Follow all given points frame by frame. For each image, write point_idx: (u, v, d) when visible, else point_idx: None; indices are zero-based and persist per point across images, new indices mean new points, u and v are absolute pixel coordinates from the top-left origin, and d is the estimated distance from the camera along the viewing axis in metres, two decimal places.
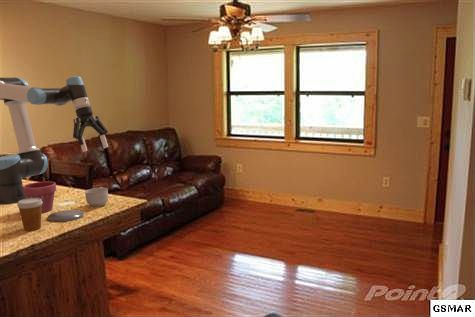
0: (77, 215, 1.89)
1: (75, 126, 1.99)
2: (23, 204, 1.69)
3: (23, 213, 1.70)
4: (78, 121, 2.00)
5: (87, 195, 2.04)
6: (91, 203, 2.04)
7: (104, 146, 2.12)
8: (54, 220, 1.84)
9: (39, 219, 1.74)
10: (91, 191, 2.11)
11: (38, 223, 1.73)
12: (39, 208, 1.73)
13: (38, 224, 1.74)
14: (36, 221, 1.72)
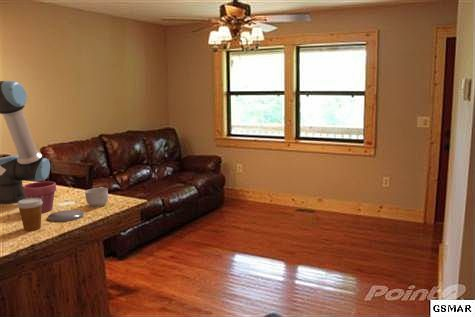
0: (77, 215, 1.89)
1: None
2: (23, 204, 1.69)
3: (23, 213, 1.70)
4: None
5: (87, 195, 2.04)
6: (91, 203, 2.04)
7: None
8: (54, 220, 1.84)
9: (39, 219, 1.74)
10: (91, 191, 2.11)
11: (38, 223, 1.73)
12: (39, 208, 1.73)
13: (38, 224, 1.74)
14: (36, 221, 1.72)
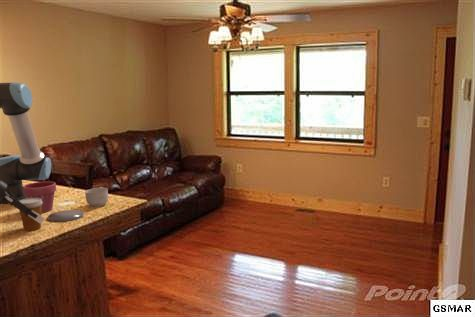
0: (77, 215, 1.89)
1: None
2: None
3: (23, 213, 1.70)
4: None
5: (87, 195, 2.04)
6: (91, 203, 2.04)
7: None
8: (54, 220, 1.84)
9: None
10: (91, 191, 2.11)
11: (38, 223, 1.73)
12: (39, 208, 1.73)
13: (38, 224, 1.74)
14: (36, 221, 1.72)
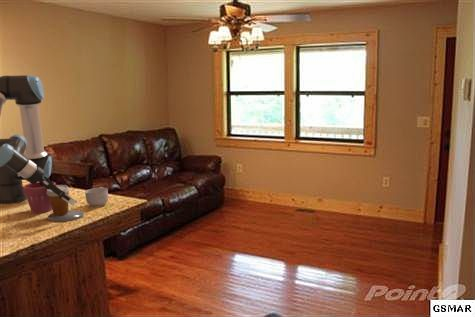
0: (77, 215, 1.89)
1: None
2: (52, 192, 1.84)
3: (52, 200, 1.86)
4: None
5: (87, 195, 2.04)
6: (91, 203, 2.04)
7: None
8: (54, 220, 1.84)
9: (67, 204, 1.90)
10: (91, 191, 2.11)
11: (66, 208, 1.90)
12: None
13: (66, 209, 1.90)
14: (64, 206, 1.89)
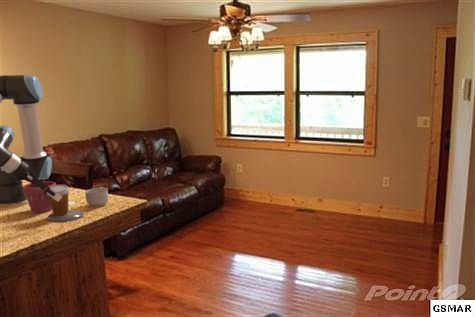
0: (77, 215, 1.89)
1: None
2: None
3: (53, 200, 1.86)
4: None
5: (87, 195, 2.04)
6: (91, 203, 2.04)
7: None
8: (54, 220, 1.84)
9: (67, 204, 1.90)
10: (91, 191, 2.11)
11: (66, 208, 1.90)
12: (67, 195, 1.88)
13: (66, 209, 1.90)
14: (64, 206, 1.89)
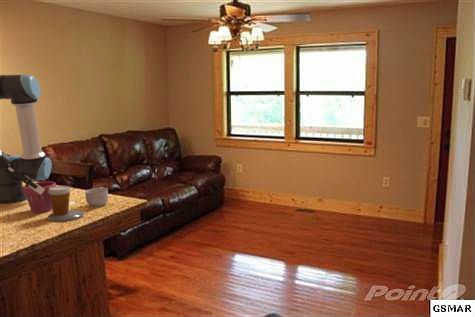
0: (77, 215, 1.89)
1: None
2: (54, 191, 1.86)
3: (54, 199, 1.87)
4: None
5: (87, 195, 2.04)
6: (91, 203, 2.04)
7: None
8: (54, 220, 1.84)
9: (67, 205, 1.91)
10: (91, 191, 2.11)
11: (67, 208, 1.91)
12: (68, 195, 1.90)
13: (66, 209, 1.91)
14: (65, 206, 1.90)
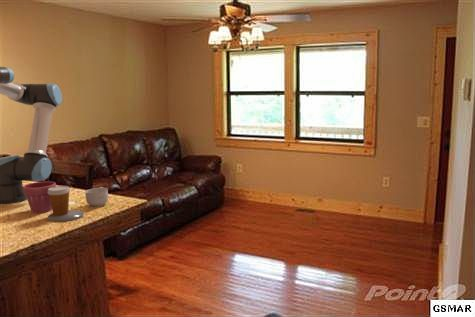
0: (77, 215, 1.89)
1: None
2: (53, 191, 1.86)
3: (53, 199, 1.87)
4: None
5: (87, 195, 2.04)
6: (91, 203, 2.04)
7: None
8: (54, 220, 1.84)
9: (67, 205, 1.91)
10: (91, 191, 2.11)
11: (66, 208, 1.91)
12: (67, 195, 1.90)
13: (66, 209, 1.91)
14: (65, 206, 1.89)
